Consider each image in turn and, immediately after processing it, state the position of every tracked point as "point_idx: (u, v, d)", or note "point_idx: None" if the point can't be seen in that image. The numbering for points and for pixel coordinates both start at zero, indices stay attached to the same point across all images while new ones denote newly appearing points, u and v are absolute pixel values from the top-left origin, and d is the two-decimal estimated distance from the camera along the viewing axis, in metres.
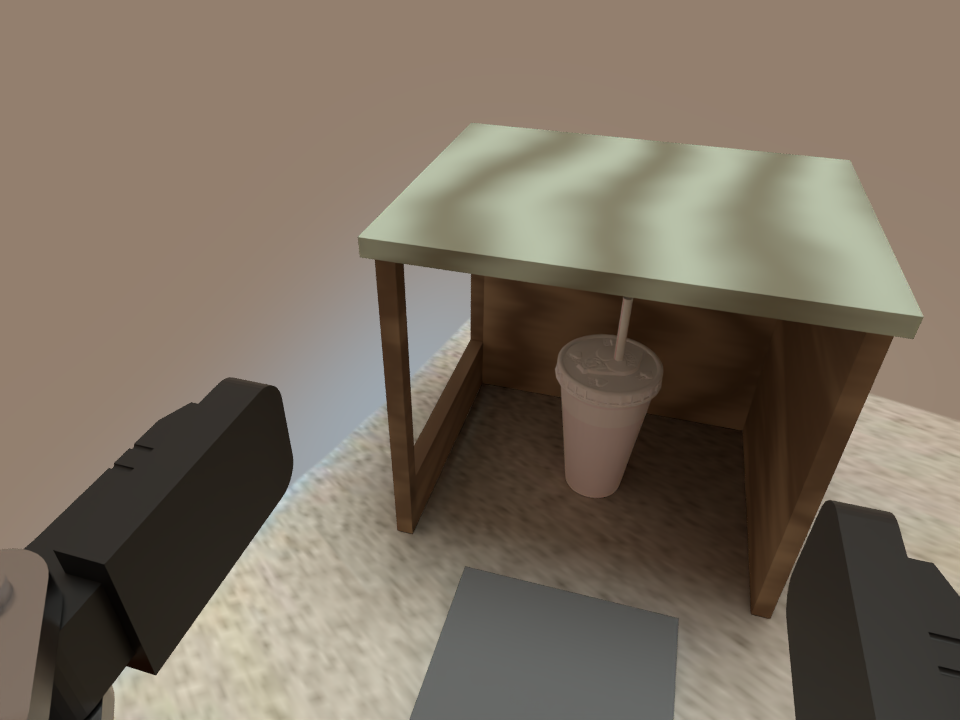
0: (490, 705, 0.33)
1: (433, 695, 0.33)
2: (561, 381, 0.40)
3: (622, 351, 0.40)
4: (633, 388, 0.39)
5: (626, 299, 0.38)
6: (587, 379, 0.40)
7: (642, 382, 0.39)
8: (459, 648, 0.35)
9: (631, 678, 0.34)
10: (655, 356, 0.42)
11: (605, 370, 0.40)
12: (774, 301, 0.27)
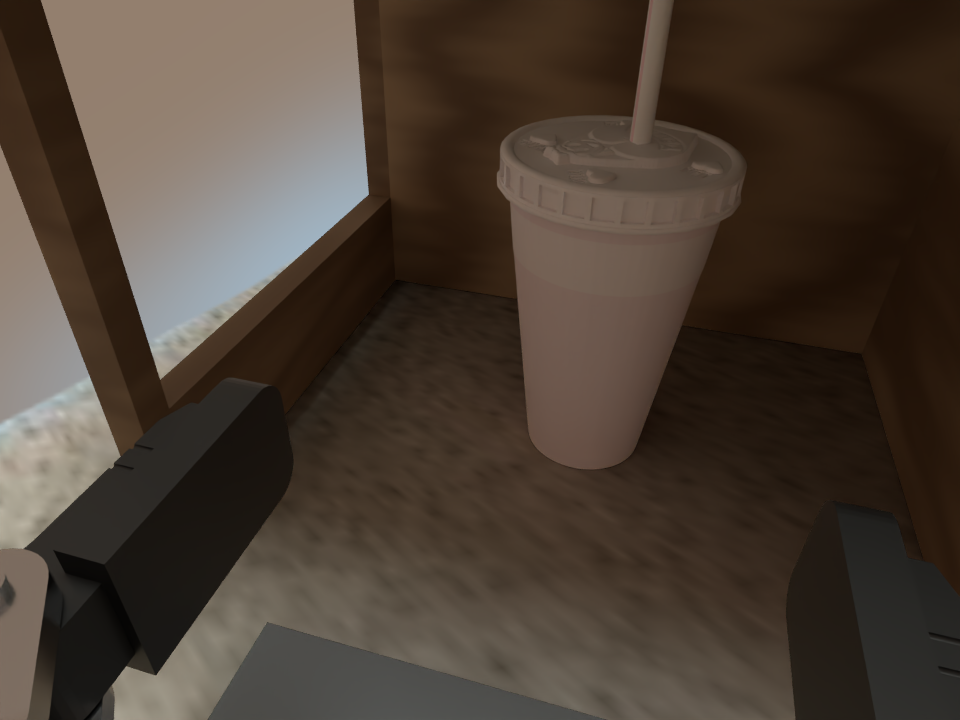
0: None
1: None
2: (507, 187, 0.17)
3: (650, 117, 0.17)
4: (679, 186, 0.16)
5: None
6: (568, 172, 0.16)
7: (699, 178, 0.16)
8: None
9: None
10: (723, 144, 0.18)
11: (610, 157, 0.17)
12: None
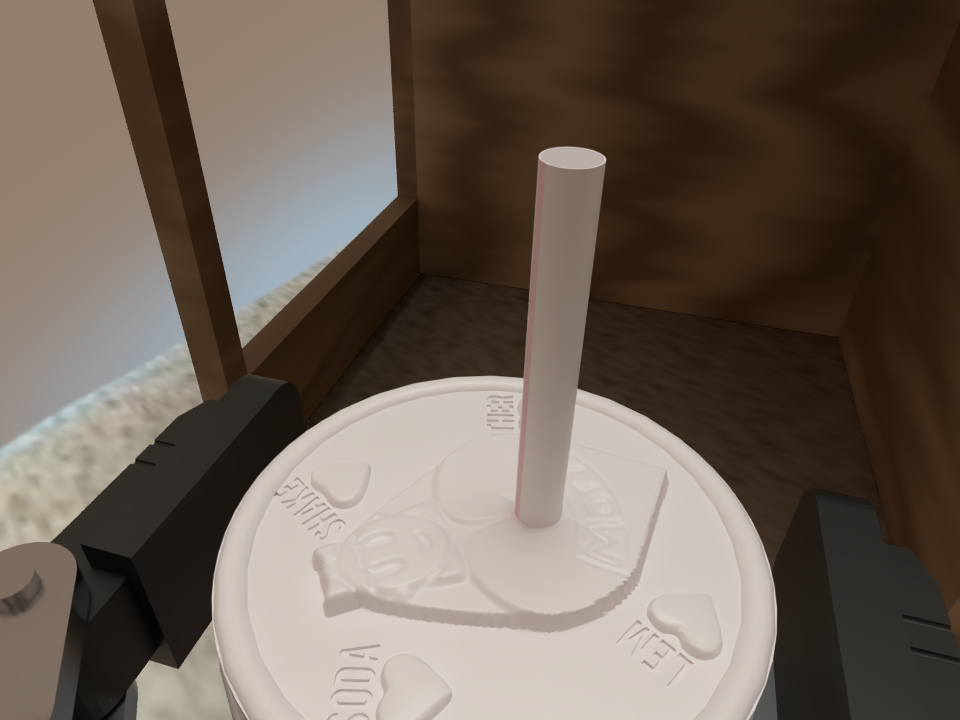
0: None
1: None
2: None
3: (553, 484, 0.07)
4: None
5: (558, 166, 0.05)
6: (340, 662, 0.07)
7: (660, 691, 0.07)
8: None
9: None
10: (722, 494, 0.09)
11: (454, 596, 0.07)
12: None
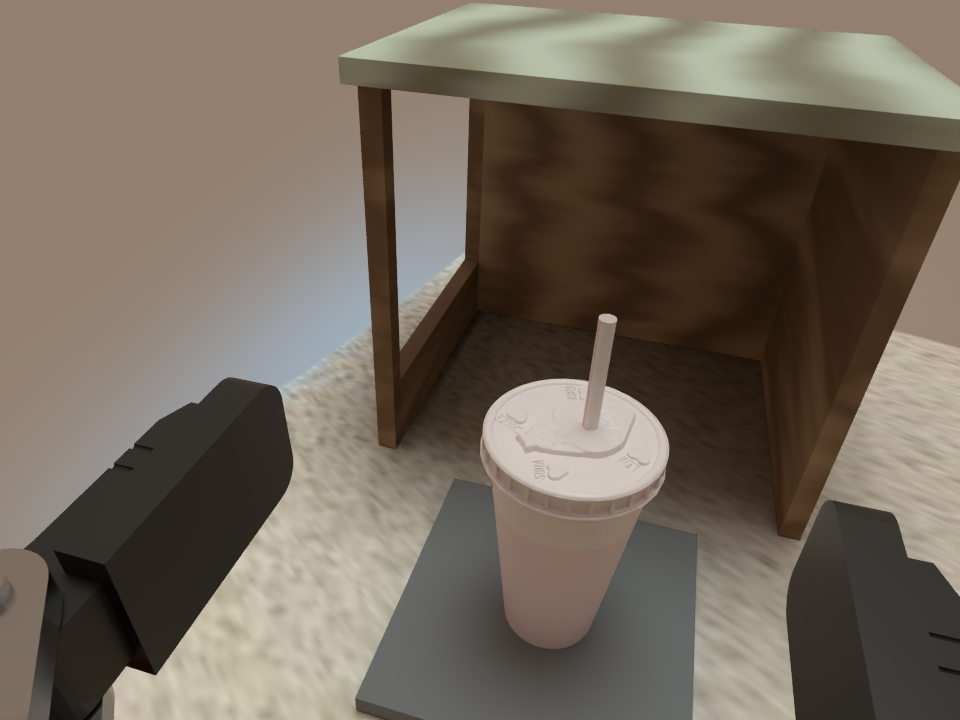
0: (480, 618, 0.28)
1: (415, 606, 0.28)
2: (487, 464, 0.23)
3: (597, 413, 0.23)
4: (614, 485, 0.21)
5: (604, 321, 0.21)
6: (532, 464, 0.22)
7: (630, 472, 0.22)
8: (445, 559, 0.30)
9: (644, 593, 0.29)
10: (655, 422, 0.24)
11: (565, 447, 0.22)
12: (829, 114, 0.23)
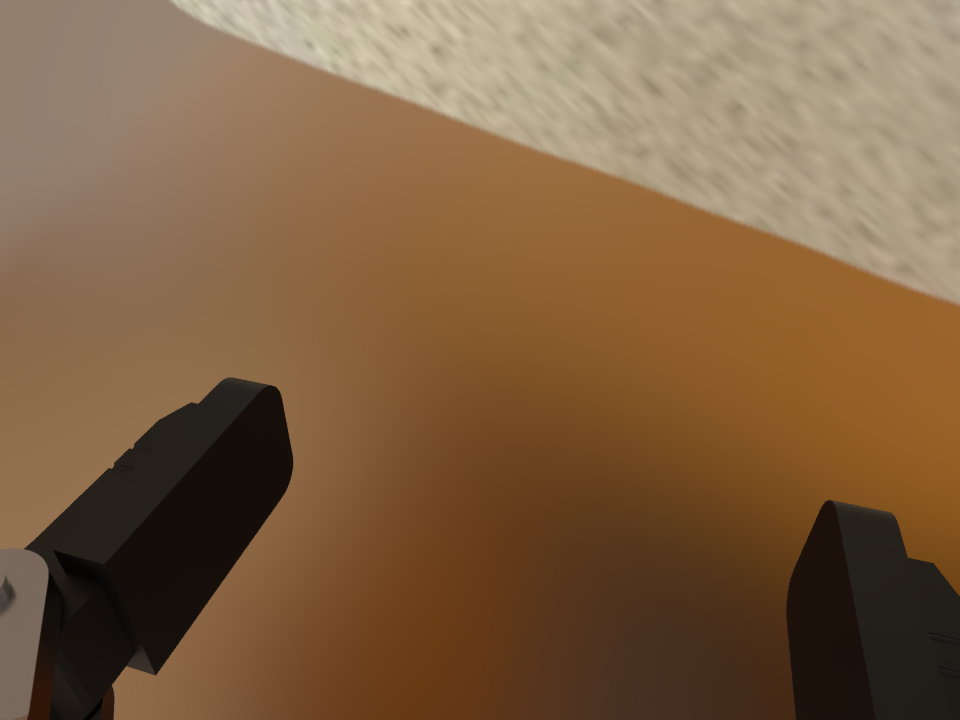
0: None
1: None
2: None
3: None
4: None
5: None
6: None
7: None
8: None
9: None
10: None
11: None
12: None
